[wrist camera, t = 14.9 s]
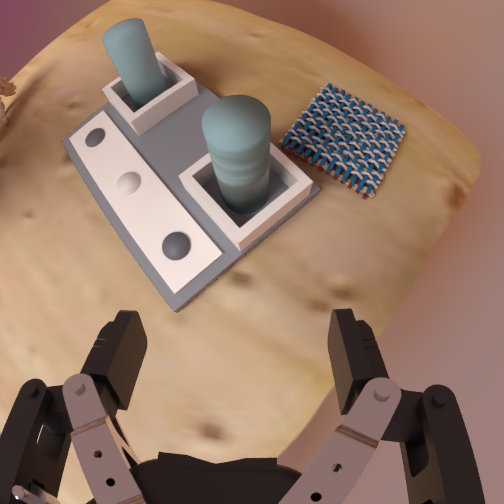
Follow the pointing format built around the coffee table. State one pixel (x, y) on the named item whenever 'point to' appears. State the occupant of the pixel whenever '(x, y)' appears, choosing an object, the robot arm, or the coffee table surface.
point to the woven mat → (335, 135)
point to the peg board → (170, 172)
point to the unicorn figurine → (6, 89)
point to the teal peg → (239, 150)
